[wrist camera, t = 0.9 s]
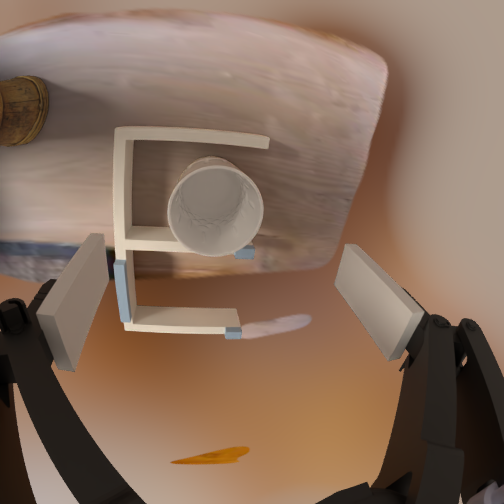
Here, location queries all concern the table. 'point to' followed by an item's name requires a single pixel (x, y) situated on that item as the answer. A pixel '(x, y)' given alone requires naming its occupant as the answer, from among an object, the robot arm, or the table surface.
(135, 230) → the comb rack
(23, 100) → the wooden mug
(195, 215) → the white cup
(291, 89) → the table surface
